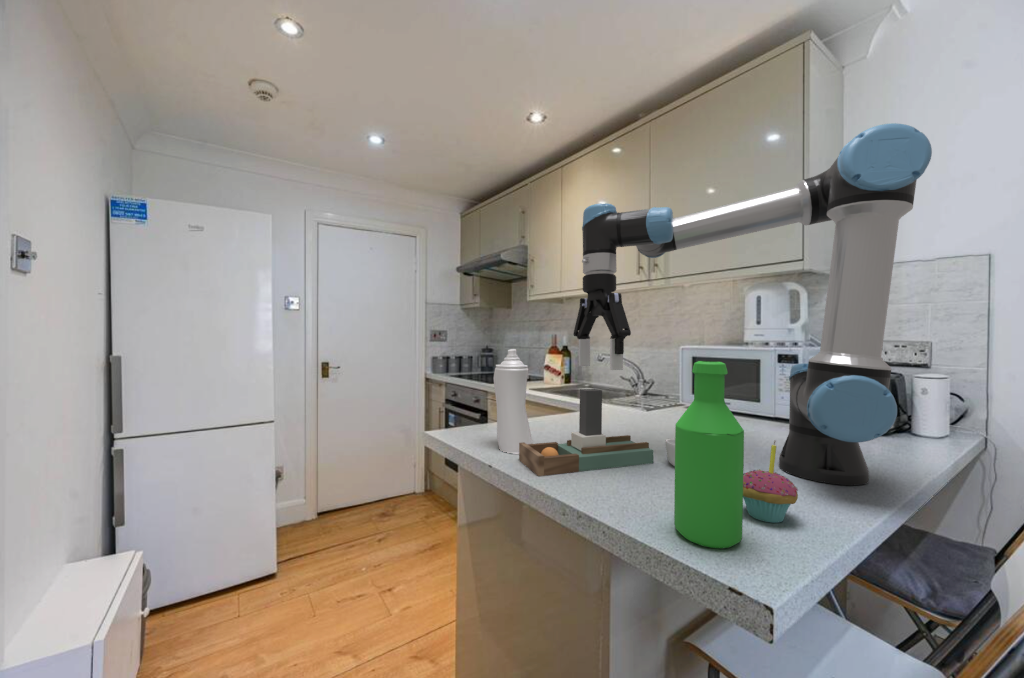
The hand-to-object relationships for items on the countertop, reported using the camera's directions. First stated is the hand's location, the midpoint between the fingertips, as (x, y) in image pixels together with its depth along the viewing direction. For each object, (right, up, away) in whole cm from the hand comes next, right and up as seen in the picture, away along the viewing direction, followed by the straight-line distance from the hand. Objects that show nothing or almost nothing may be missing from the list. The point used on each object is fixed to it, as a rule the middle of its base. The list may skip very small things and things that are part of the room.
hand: (599, 367), depth 94 cm
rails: (+2, -18, +1) cm, 18 cm away
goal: (-12, -21, -4) cm, 24 cm away
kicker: (-3, -18, -1) cm, 19 cm away
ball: (-12, -19, -4) cm, 23 cm away
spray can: (-20, -21, +10) cm, 31 cm away
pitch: (+1, -21, +1) cm, 21 cm away
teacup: (+19, -22, -3) cm, 29 cm away
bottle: (+8, -22, -35) cm, 42 cm away
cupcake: (+20, -22, -28) cm, 41 cm away
